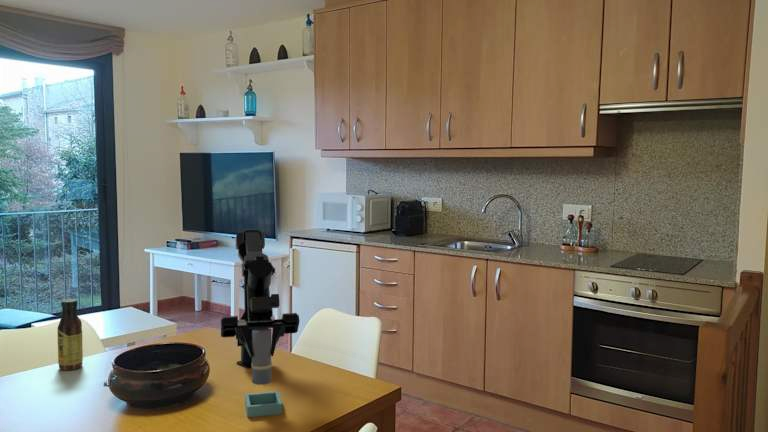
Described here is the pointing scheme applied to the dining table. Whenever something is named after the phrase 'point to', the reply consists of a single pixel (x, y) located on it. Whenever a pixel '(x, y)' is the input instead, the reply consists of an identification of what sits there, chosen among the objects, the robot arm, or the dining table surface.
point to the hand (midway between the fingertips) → (262, 356)
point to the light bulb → (261, 356)
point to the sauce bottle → (70, 337)
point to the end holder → (263, 404)
